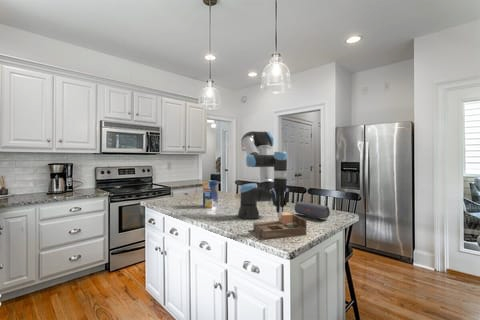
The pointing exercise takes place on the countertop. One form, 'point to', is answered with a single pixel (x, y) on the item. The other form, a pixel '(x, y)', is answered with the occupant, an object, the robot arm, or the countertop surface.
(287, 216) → the block
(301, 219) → the box
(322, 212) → the bluetooth speaker
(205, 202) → the beverage box
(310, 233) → the countertop surface
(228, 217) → the countertop surface
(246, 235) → the countertop surface
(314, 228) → the countertop surface
